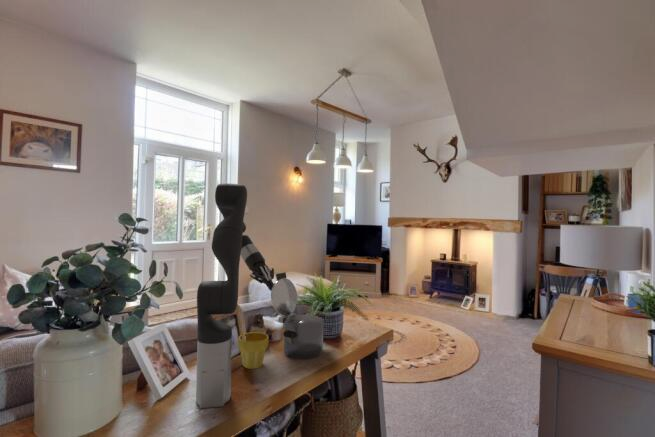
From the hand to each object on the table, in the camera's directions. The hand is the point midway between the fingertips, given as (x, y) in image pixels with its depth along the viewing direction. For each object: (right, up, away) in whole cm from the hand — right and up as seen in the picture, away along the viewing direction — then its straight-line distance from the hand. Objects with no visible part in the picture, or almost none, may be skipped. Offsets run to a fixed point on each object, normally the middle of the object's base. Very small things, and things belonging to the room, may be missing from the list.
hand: (273, 289), depth 141 cm
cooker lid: (+5, -1, -3) cm, 6 cm away
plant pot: (-4, -22, -21) cm, 31 cm away
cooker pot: (+13, -22, -8) cm, 27 cm away
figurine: (-6, -22, 0) cm, 23 cm away
